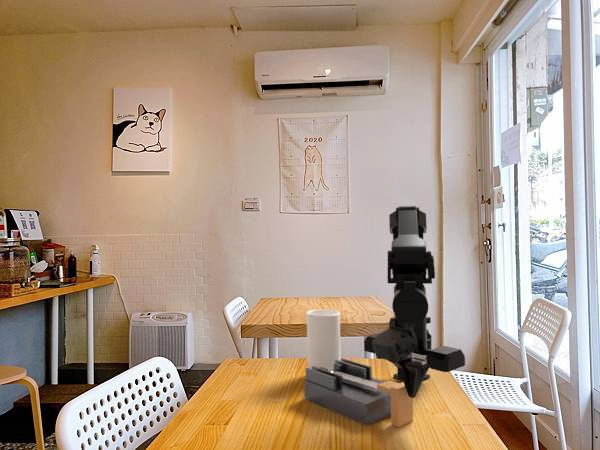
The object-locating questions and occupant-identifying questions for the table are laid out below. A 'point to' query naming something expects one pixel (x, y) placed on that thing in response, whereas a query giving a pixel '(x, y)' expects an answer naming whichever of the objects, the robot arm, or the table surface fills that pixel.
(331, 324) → the cup
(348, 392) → the slotted grey stand
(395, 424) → the tan piece
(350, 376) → the strap
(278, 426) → the table surface
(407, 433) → the table surface
